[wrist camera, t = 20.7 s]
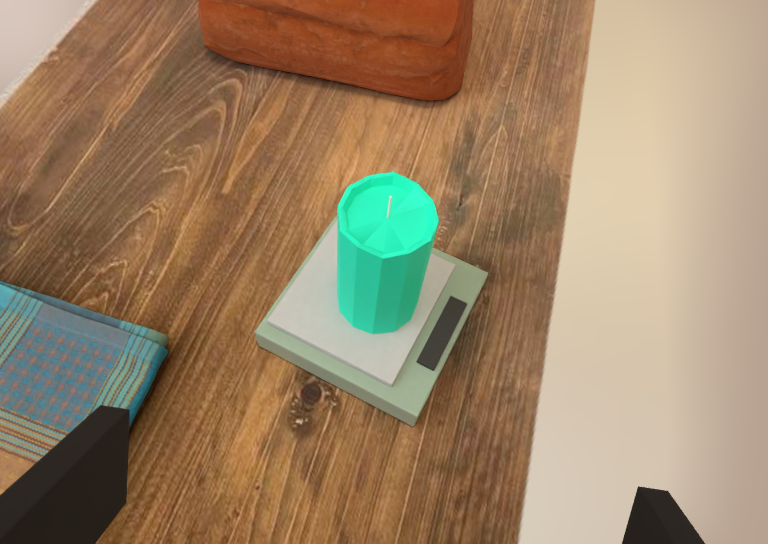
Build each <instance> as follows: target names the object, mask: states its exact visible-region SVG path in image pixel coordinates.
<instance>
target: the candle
mask: <svg viewBox="0 0 768 544" xmlns="http://www.w3.org/2000/svg"><path fill="white" fill-rule="evenodd" d="M438 223H439V219H438V215H437V211H436V208H435V204H434V201H433V200H432V199H431V198H430V197H429V195H428V194H427V193H426V192H425V191H424V190H423V189H422V188H421V186H420V185H419V184H418V183H416V182H414V181H412V180H410V179H408V178H406V177H404V176H402V175H399V174H397V173H395V172H390V173H382V174H375V175H368V176H367V177H365V178H363V179H361V180H359V181H357V182H355V183H354V184H352V185H350V186H348V188H347V189H346V191H345V193H344V195H343V197H342V199H341V201H340V203H339V205H338V220H337V295H338V303H339V311H340V312H341V313H342V314H343V316H344V317H345V318H346V319H347V320H348V322H349V323H350V324H351V325H352V326H353V327H355V328H358V329H360V330H363V331H365V332H368V333H371V334H380V333H389V332H395V331H396V330H398V329H399V328H400V327H402V326H403V325H405V324H406V323H407V322H409V321H410V320H411V318H412V316H413V313H414V311H415V308H416V306H417V304H418V300H419V296H420V293H421V289H422V285H423V281H424V277H425V273H426V269H427V266H428V262H429V258H430V254H431V250H432V246H433V242H434V239H435V235H436V231H437V227H438Z"/></svg>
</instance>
